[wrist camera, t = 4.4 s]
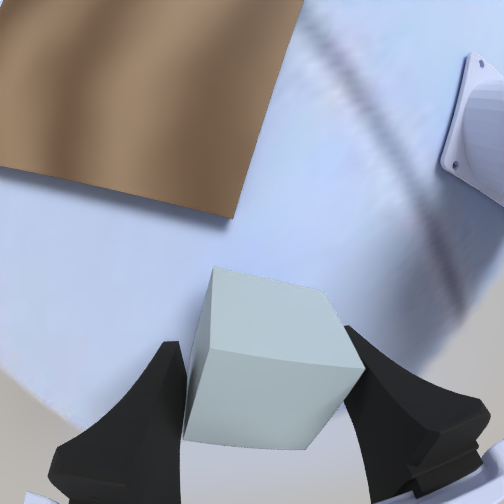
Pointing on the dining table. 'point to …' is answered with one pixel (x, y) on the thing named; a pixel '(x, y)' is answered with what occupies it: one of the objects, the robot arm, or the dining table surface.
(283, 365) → the pale blue-gray cube
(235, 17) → the brown wooden board
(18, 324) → the dining table surface
